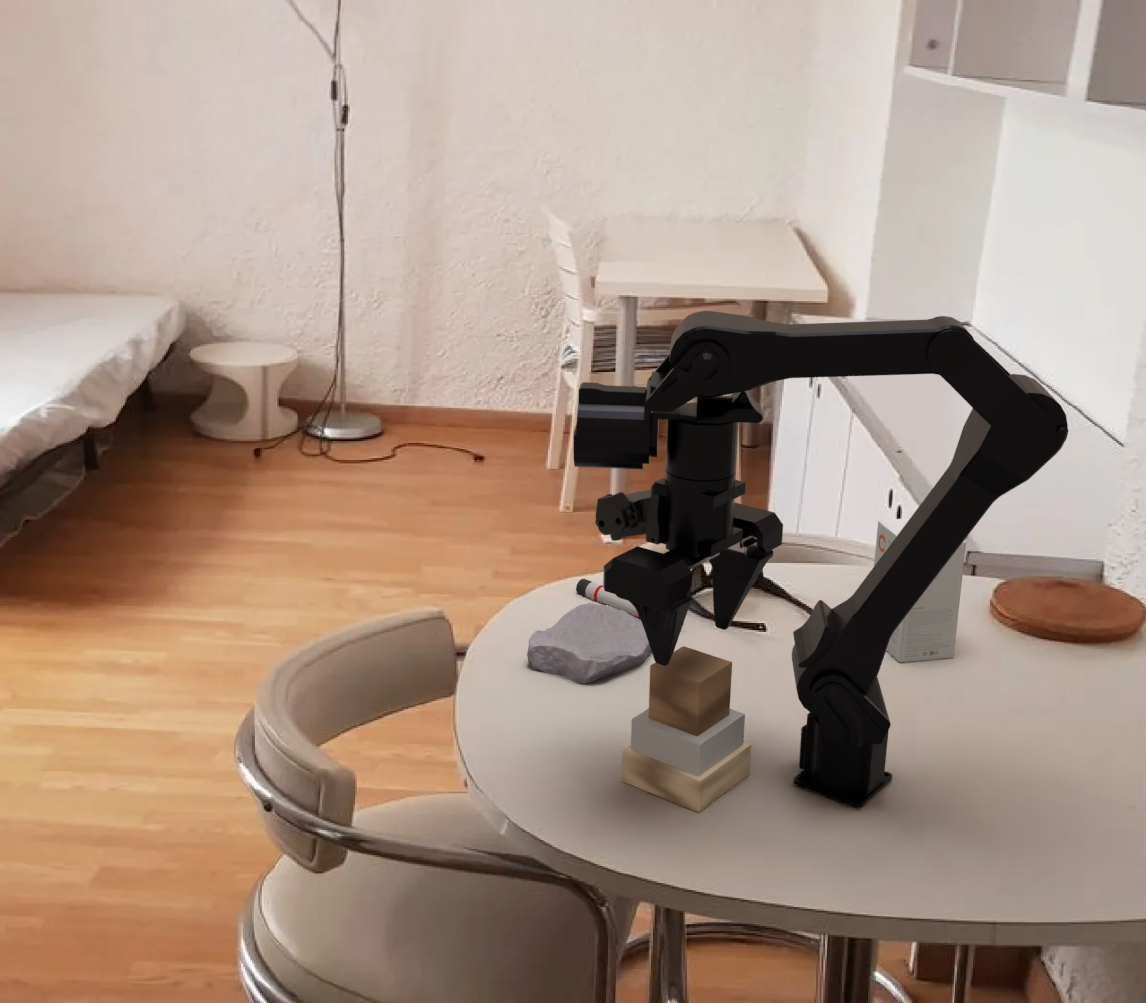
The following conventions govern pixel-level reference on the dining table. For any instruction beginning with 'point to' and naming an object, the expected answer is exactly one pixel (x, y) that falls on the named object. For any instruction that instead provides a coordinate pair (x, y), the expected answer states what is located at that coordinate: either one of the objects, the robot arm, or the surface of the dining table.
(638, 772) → the beech base block
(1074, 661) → the dining table surface
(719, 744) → the grey block
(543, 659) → the stone block
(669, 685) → the walnut cube
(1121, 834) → the dining table surface
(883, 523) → the small box
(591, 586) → the marker
